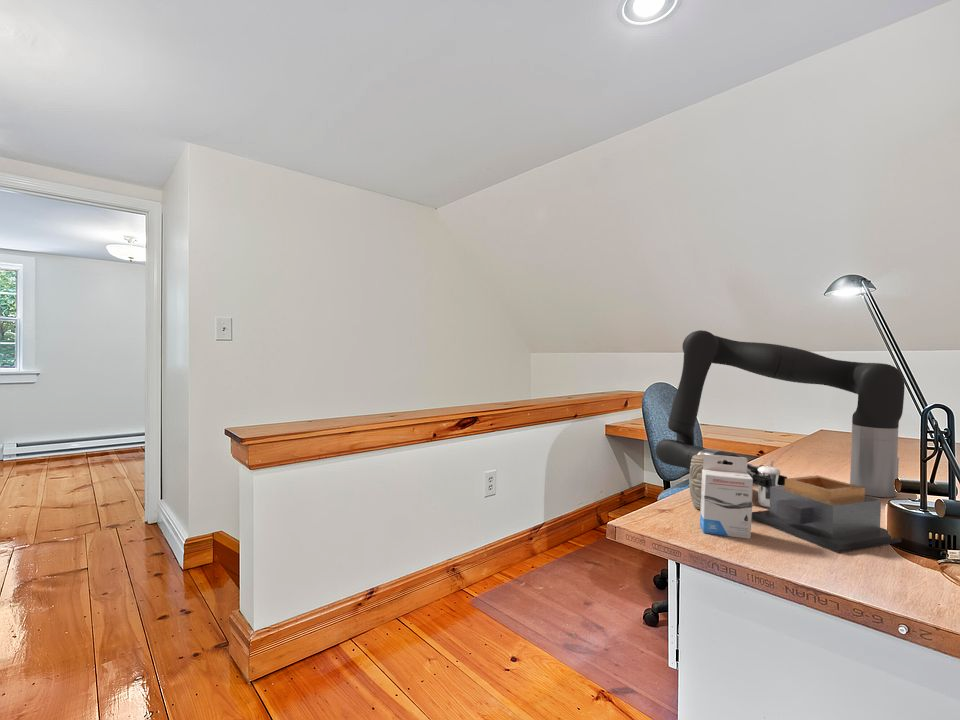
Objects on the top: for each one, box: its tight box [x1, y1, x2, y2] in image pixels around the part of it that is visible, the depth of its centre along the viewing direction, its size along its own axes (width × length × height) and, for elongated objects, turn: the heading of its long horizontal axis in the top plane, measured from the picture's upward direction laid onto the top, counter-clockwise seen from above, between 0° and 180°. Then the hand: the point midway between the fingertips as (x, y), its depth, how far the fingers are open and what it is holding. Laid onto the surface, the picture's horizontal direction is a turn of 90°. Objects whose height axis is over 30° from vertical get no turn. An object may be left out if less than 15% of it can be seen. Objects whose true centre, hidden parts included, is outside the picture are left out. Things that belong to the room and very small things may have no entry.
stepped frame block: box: [751, 475, 902, 554], centre depth 97 cm, size 18×18×10 cm
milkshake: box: [757, 460, 781, 509], centre depth 113 cm, size 4×5×10 cm
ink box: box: [699, 454, 754, 540], centre depth 96 cm, size 8×5×15 cm, turn 73°
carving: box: [688, 454, 722, 511], centre depth 109 cm, size 6×8×12 cm
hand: (778, 482), depth 110 cm, fingers closed on milkshake, 4 cm apart
